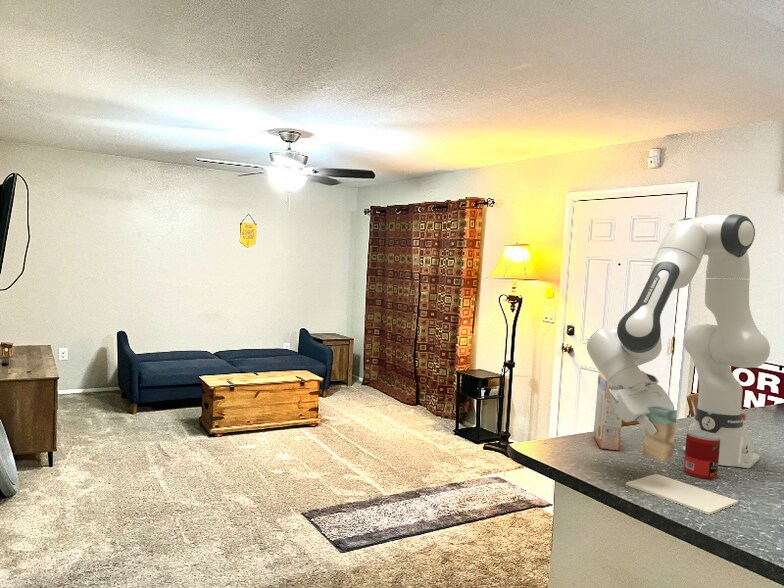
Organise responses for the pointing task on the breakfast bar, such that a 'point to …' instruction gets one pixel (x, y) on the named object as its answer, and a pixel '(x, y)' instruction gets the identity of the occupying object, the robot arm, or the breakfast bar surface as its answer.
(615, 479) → the breakfast bar surface
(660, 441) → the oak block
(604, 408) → the cracker box
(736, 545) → the breakfast bar surface
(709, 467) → the canned food
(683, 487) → the felt mat
